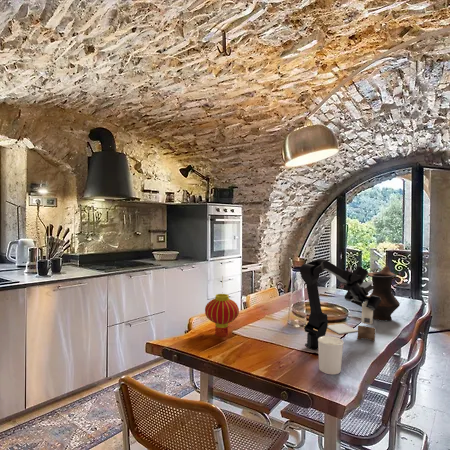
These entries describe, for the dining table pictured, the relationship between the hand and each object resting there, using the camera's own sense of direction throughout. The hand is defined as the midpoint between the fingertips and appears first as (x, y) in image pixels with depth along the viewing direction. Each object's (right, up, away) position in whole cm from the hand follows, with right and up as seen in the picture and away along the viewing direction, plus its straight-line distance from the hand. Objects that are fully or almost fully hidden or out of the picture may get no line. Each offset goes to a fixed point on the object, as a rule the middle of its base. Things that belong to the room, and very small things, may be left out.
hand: (369, 308), depth 183 cm
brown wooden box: (-4, -13, -7) cm, 16 cm away
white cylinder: (-33, -15, -42) cm, 55 cm away
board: (-12, -13, +7) cm, 19 cm away
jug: (+19, -12, +27) cm, 35 cm away
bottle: (-1, -7, 0) cm, 7 cm away
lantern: (-77, -12, -4) cm, 78 cm away
